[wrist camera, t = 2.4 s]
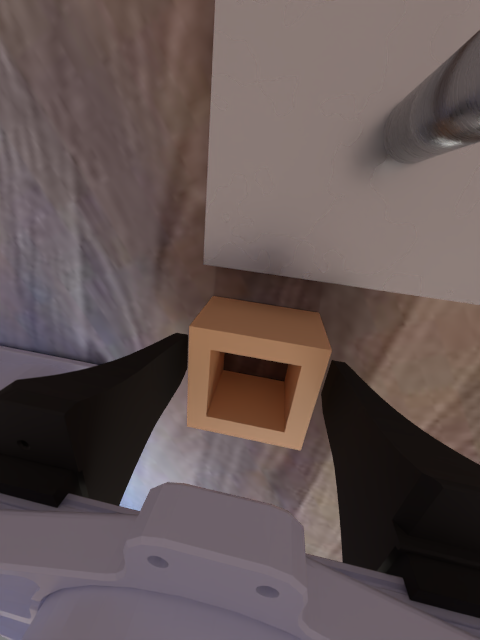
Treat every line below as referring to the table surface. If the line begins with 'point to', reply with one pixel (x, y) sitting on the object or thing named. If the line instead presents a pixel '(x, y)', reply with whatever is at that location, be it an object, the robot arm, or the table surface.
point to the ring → (252, 391)
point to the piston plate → (347, 143)
